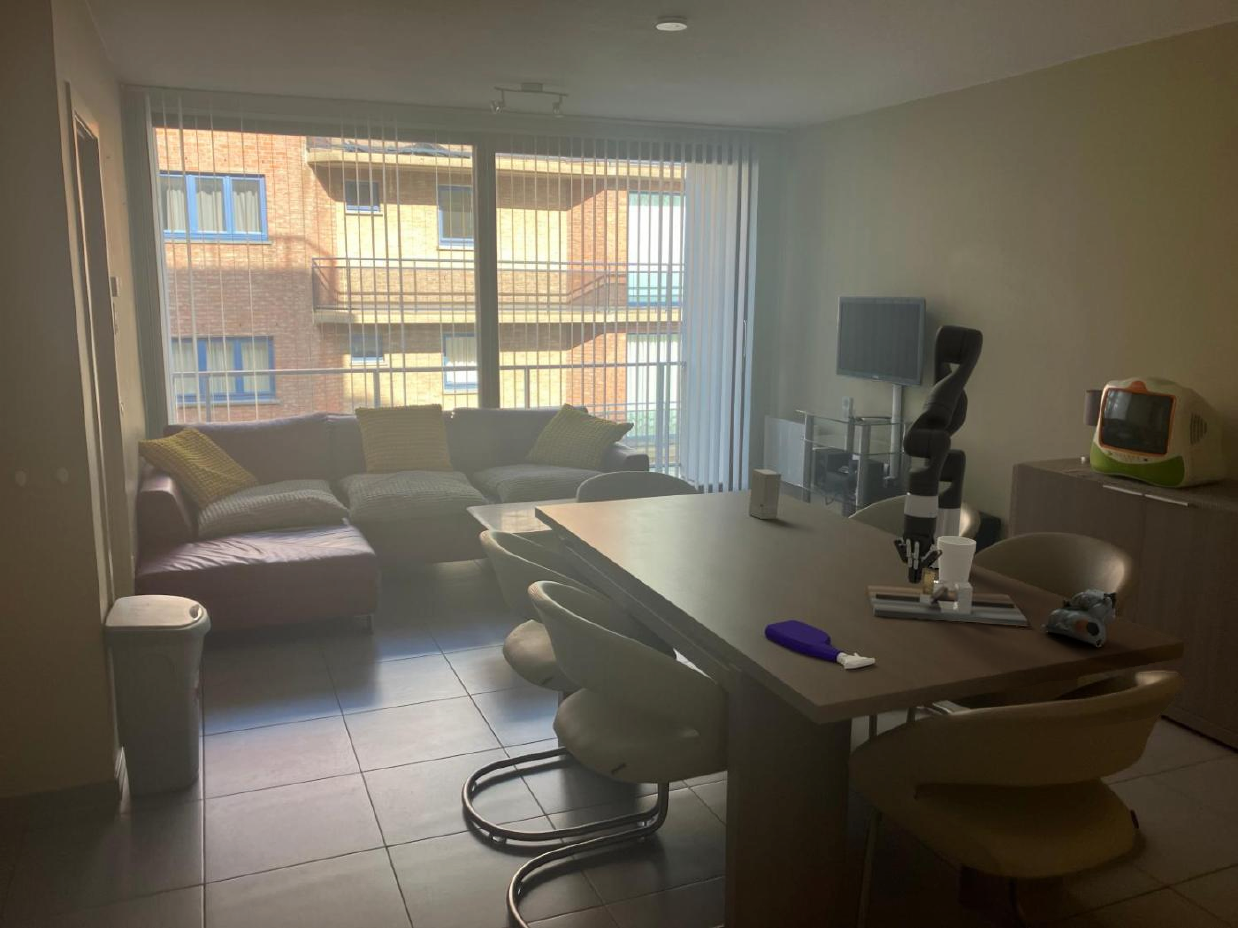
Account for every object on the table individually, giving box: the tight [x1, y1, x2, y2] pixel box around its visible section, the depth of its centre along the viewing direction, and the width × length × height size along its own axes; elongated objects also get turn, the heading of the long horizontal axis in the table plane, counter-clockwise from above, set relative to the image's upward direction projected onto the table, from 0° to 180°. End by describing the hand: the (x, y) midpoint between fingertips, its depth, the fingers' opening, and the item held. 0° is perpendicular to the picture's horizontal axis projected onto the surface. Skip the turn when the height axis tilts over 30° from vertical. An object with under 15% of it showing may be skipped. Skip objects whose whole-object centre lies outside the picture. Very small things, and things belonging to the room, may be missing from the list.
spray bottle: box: [763, 619, 876, 670], centre depth 209 cm, size 3×11×24 cm
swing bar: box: [920, 570, 949, 604], centre depth 239 cm, size 16×4×7 cm, turn 148°
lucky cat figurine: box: [1040, 588, 1117, 646], centre depth 219 cm, size 15×12×14 cm
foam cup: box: [937, 536, 977, 591], centre depth 255 cm, size 10×9×13 cm
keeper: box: [937, 581, 974, 615], centre depth 233 cm, size 6×7×6 cm
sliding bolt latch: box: [867, 584, 1028, 626], centre depth 240 cm, size 21×34×3 cm, turn 81°
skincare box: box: [748, 468, 782, 520], centre depth 337 cm, size 8×7×16 cm
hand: (914, 582), depth 237 cm, fingers closed
